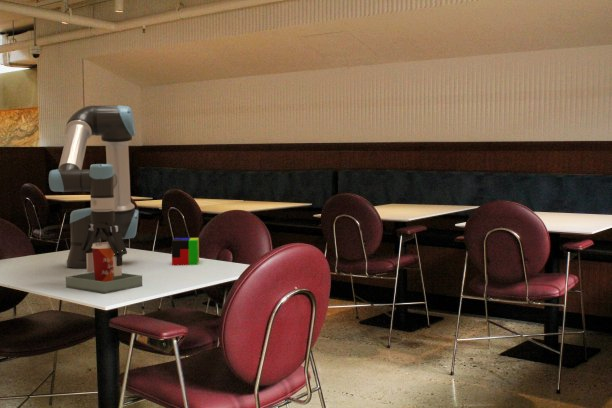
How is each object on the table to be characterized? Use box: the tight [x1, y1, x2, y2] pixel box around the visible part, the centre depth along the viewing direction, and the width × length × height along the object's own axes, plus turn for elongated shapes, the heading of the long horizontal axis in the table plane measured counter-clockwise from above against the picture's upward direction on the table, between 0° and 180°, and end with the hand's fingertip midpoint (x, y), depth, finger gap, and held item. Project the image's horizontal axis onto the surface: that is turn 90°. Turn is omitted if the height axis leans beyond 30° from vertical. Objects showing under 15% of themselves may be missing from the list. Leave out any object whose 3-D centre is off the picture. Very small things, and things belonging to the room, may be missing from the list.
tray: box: [65, 272, 143, 294], centre depth 228 cm, size 20×16×4 cm
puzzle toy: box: [171, 237, 200, 266], centre depth 278 cm, size 10×10×10 cm
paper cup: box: [91, 241, 115, 282], centre depth 227 cm, size 8×8×14 cm
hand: (104, 273), depth 228 cm, fingers open, 13 cm apart
